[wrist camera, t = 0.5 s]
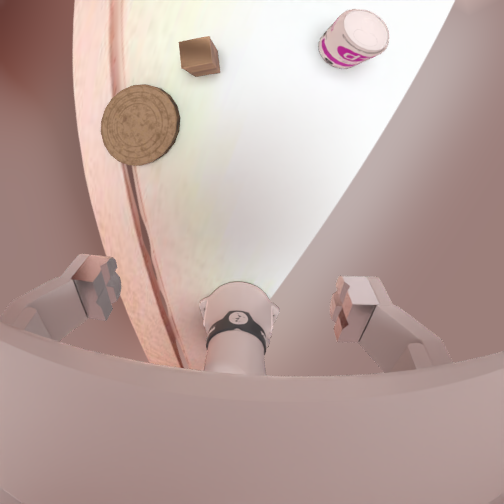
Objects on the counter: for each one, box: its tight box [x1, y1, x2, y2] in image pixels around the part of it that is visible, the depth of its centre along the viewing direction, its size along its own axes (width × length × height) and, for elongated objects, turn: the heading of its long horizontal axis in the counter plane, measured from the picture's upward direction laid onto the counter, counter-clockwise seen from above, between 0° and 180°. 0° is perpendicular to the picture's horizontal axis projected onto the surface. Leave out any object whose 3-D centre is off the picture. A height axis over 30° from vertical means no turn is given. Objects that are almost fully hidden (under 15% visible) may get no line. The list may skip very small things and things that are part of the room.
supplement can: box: [319, 9, 389, 69], centre depth 33 cm, size 8×8×15 cm
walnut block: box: [179, 36, 220, 77], centre depth 37 cm, size 5×5×10 cm
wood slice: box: [101, 85, 180, 165], centre depth 46 cm, size 16×16×3 cm
